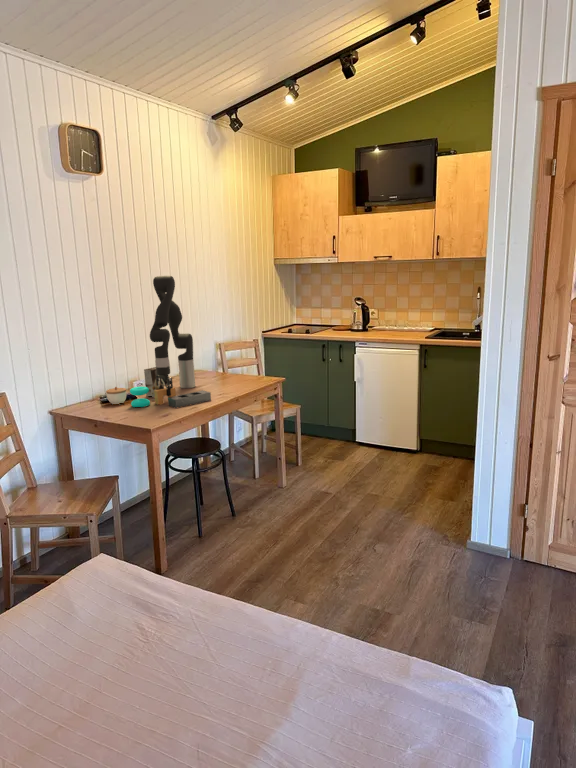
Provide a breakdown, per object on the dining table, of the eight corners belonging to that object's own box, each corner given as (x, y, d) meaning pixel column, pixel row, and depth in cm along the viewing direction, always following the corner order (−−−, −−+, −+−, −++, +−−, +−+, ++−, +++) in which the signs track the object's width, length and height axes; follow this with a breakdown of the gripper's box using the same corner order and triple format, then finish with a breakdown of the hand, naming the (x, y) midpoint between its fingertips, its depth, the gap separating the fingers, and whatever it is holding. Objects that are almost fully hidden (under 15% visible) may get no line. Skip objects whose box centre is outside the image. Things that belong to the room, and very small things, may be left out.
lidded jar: (111, 401, 305) (109, 385, 303) (129, 400, 305) (128, 384, 303) (104, 406, 295) (103, 389, 293) (124, 405, 295) (122, 388, 293)
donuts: (134, 390, 283) (126, 388, 291) (136, 409, 285) (128, 406, 293) (152, 387, 290) (143, 385, 297) (153, 405, 292) (144, 402, 299)
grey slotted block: (168, 405, 290) (167, 397, 289) (203, 398, 304) (202, 390, 303) (176, 408, 284) (175, 399, 283) (211, 400, 298) (210, 392, 297)
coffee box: (154, 397, 311) (151, 370, 308) (146, 396, 314) (143, 369, 311) (165, 394, 319) (162, 367, 315) (156, 393, 322) (154, 366, 318)
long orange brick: (155, 403, 295) (154, 390, 294) (173, 400, 303) (172, 387, 301) (158, 404, 293) (157, 391, 291) (176, 401, 300) (175, 387, 298)
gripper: (150, 365, 296) (152, 394, 300) (163, 368, 286) (165, 398, 289) (162, 363, 301) (164, 391, 304) (175, 365, 291) (177, 395, 294)
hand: (165, 394), depth 297 cm, fingers open, 7 cm apart
